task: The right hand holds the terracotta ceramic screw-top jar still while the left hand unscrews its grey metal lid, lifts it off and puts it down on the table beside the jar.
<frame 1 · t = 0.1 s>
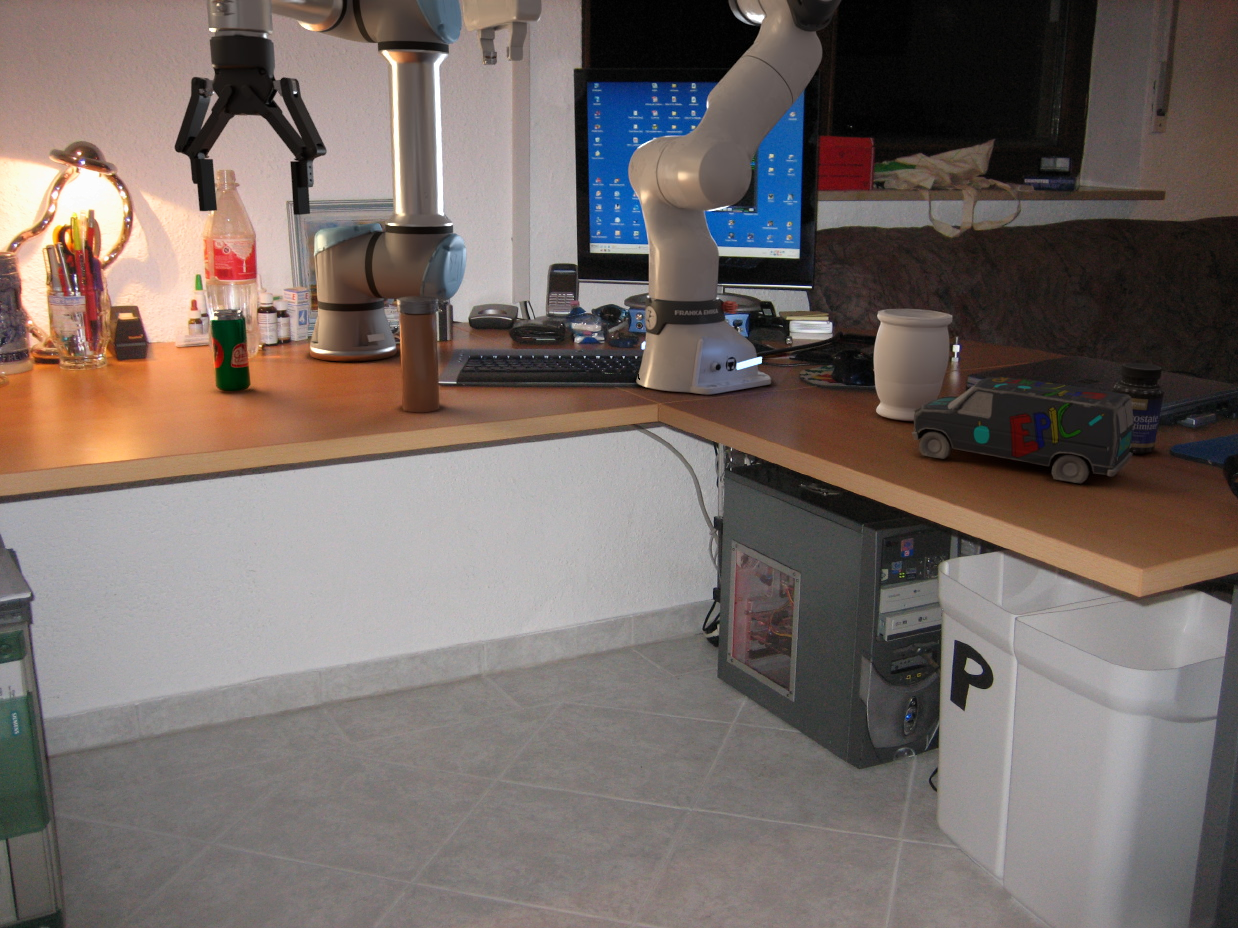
left hand: (254, 213, 138), 28 cm above the table, tool pointing down, fingers open, 13 cm apart
right hand: (501, 63, 148), 48 cm above the table, tool pointing down, fingers open, 8 cm apart
lid: (417, 301, 151), point 16 cm above the table, screwed on, not yet turned
pill bottle: (1128, 449, 141), on the table
jar: (904, 416, 156), on the table
soda can: (233, 390, 165), on the table
screw-top jar: (421, 408, 156), on the table
toy van: (1016, 463, 134), on the table
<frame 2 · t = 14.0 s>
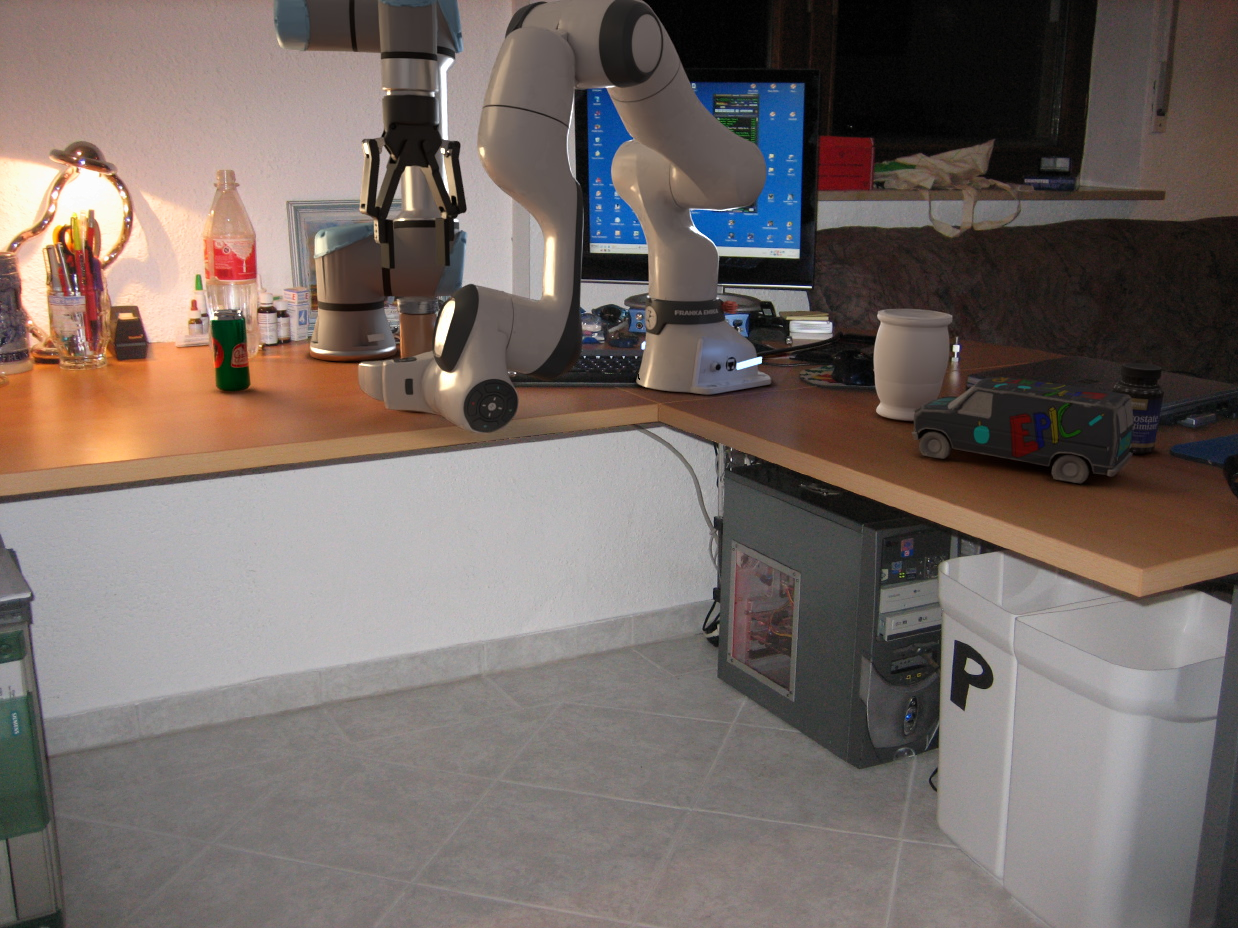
left hand: (416, 266, 150), 20 cm above the table, tool pointing down, fingers open, 8 cm apart
right hand: (417, 363, 155), 7 cm above the table, tool horizontal, fingers closed on screw-top jar, 5 cm apart
screw-top jar: (421, 408, 156), on the table, touching right hand
everything else where it was.
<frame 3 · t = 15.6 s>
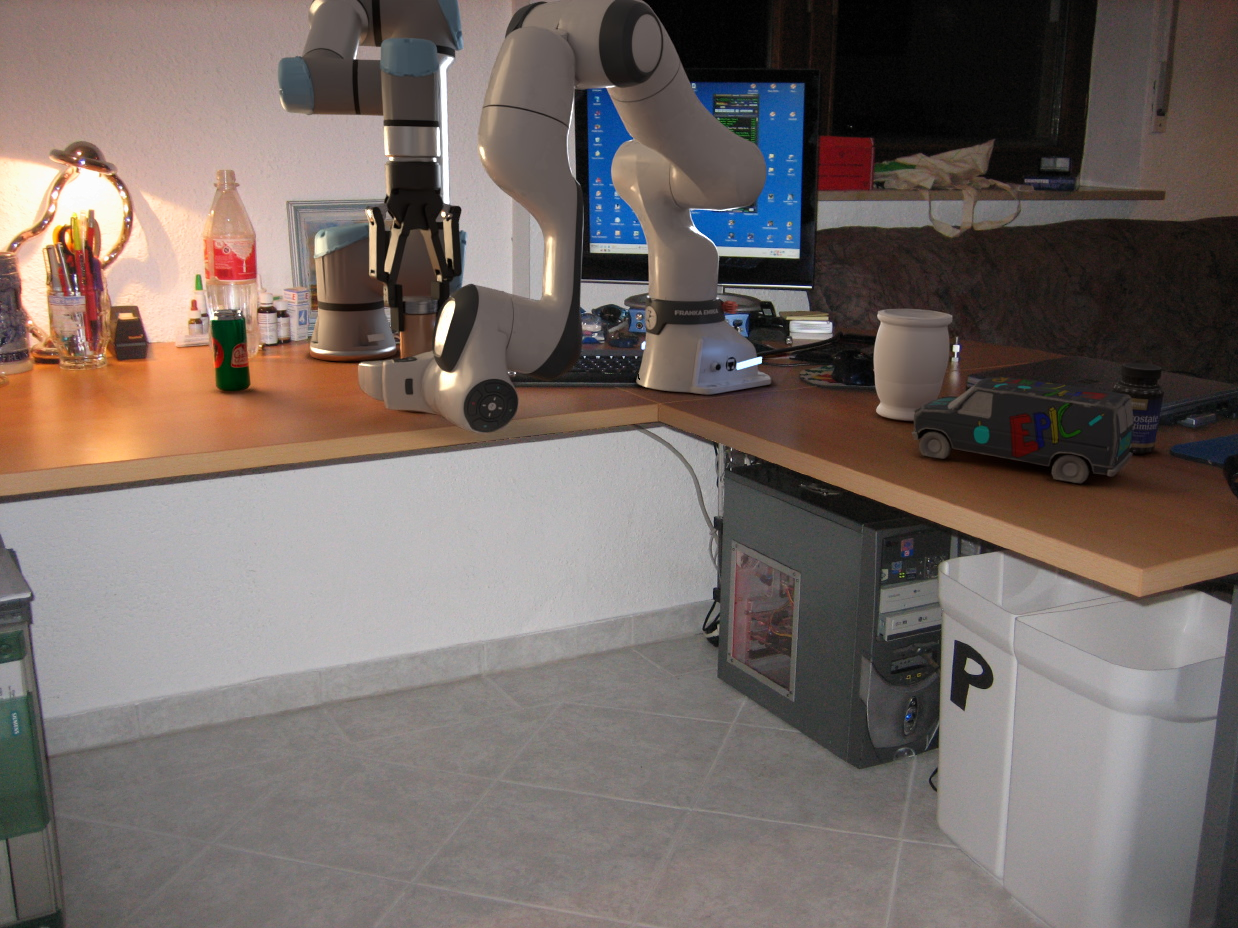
left hand: (418, 328, 152), 12 cm above the table, tool pointing down, fingers closed on lid, 6 cm apart
right hand: (417, 363, 155), 7 cm above the table, tool horizontal, fingers closed on screw-top jar, 5 cm apart
lid: (417, 301, 151), point 16 cm above the table, screwed on, not yet turned, touching left hand
screw-top jar: (421, 408, 156), on the table, touching right hand
everything else where it was.
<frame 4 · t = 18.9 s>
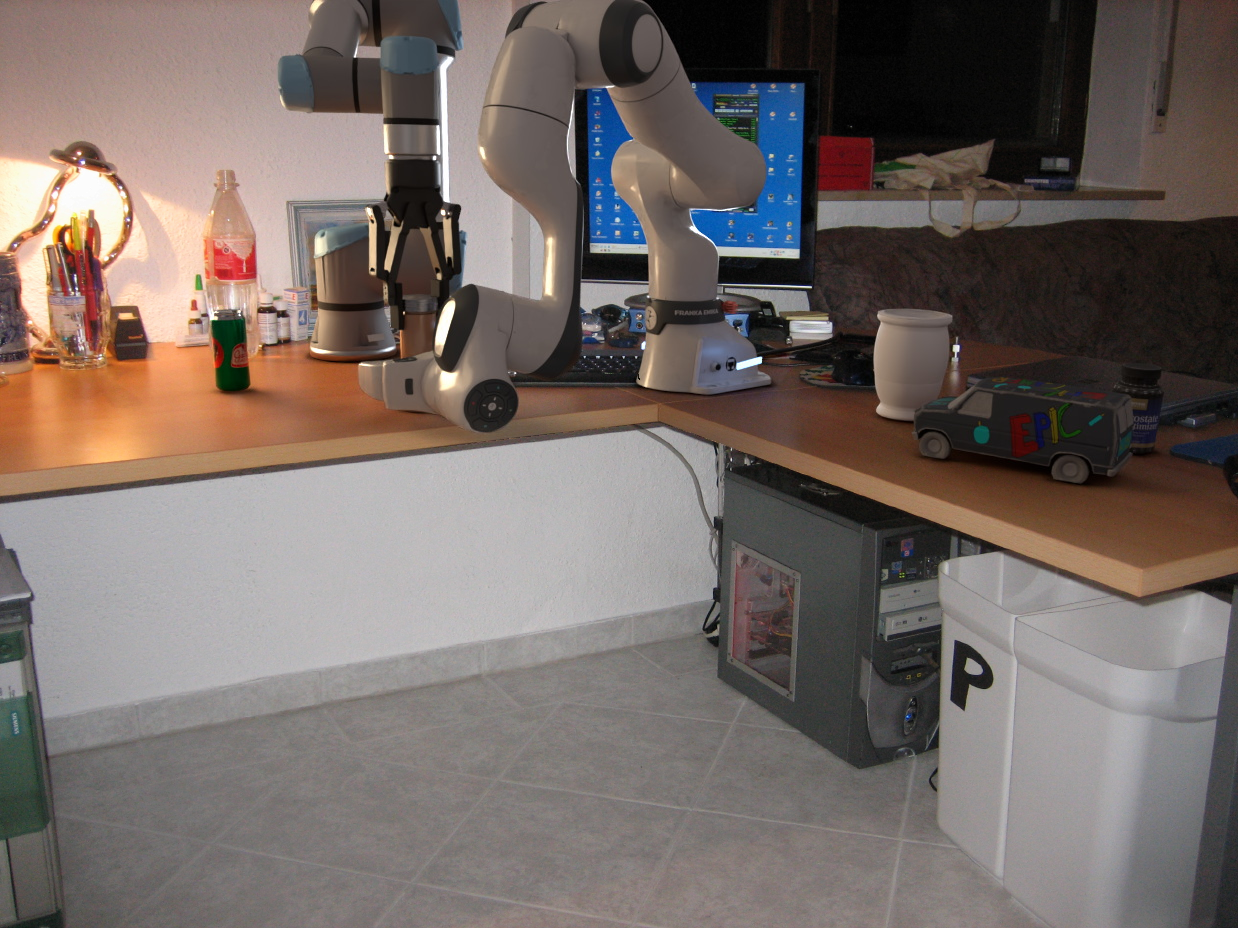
left hand: (418, 326, 152), 12 cm above the table, tool pointing down, fingers closed on lid, 6 cm apart
right hand: (417, 363, 155), 7 cm above the table, tool horizontal, fingers closed on screw-top jar, 5 cm apart
lid: (417, 299, 151), point 16 cm above the table, turned 87° so far, risen 0.3 cm, still on its thread, touching left hand
screw-top jar: (421, 408, 156), on the table, touching right hand
everything else where it was.
when the left hand's fingers open (0 cm above the table, at t = 25.8 s): lid drops 3 cm, point 1 cm above the table.
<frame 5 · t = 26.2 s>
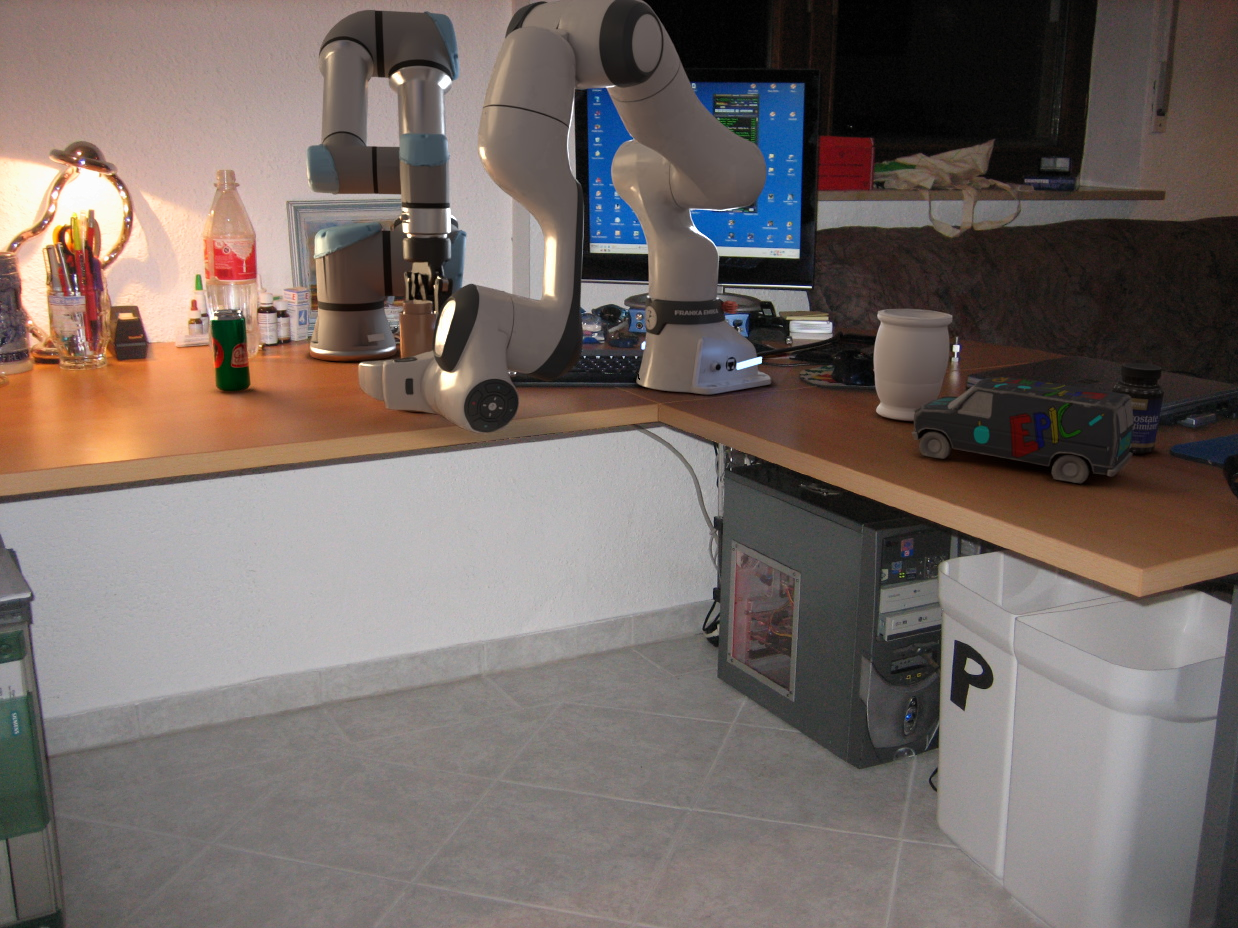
left hand: (430, 379, 174), 0 cm above the table, tool pointing down, fingers open, 6 cm apart
right hand: (417, 363, 155), 7 cm above the table, tool horizontal, fingers closed on screw-top jar, 5 cm apart
lid: (430, 372, 174), point 1 cm above the table, off its thread
screw-top jar: (421, 408, 156), on the table, touching right hand
everything else where it was.
when the right hand's fingers open (7 cm above the table, at t = 27.0 s): screw-top jar stays where it is, on the table.
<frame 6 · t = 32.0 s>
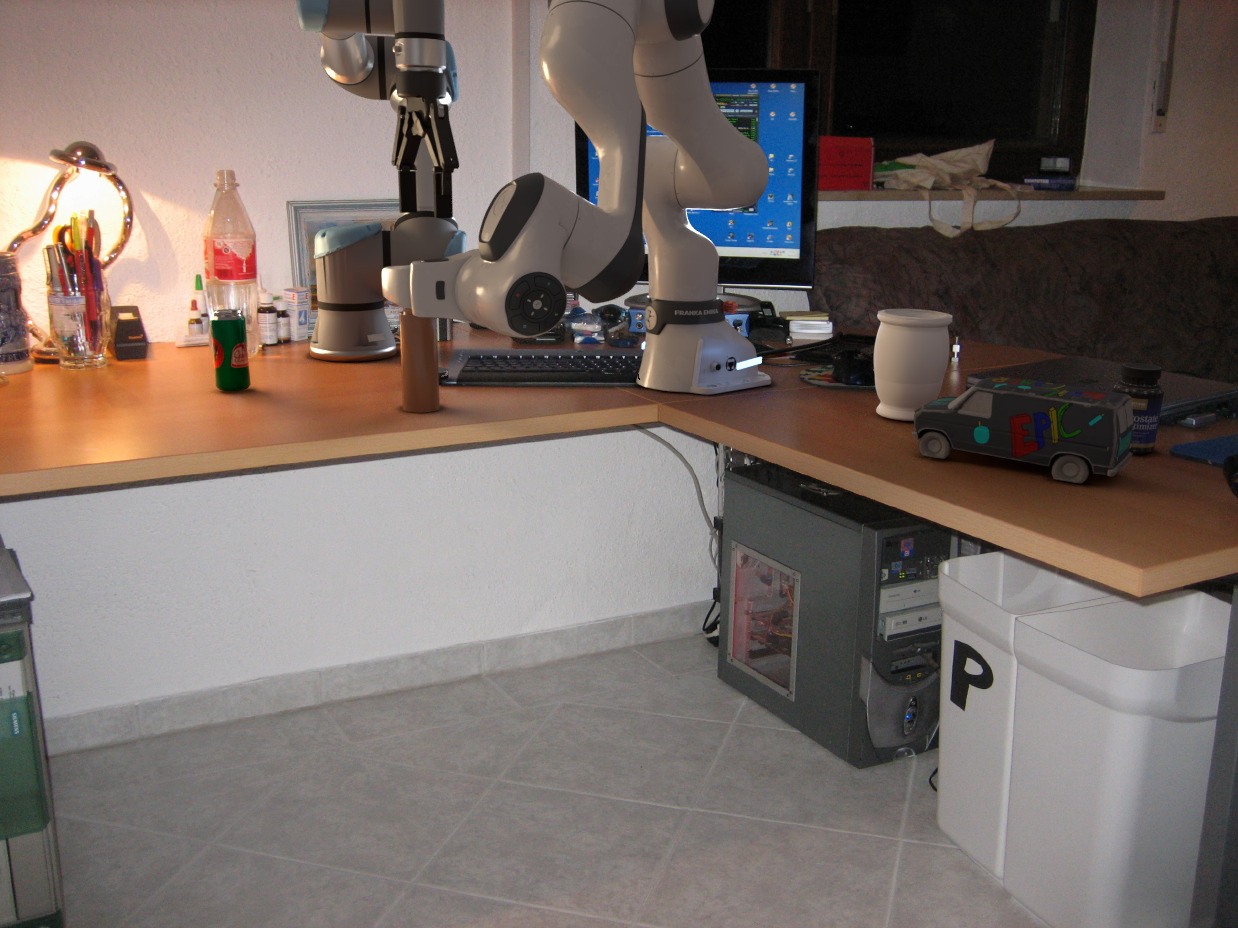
left hand: (425, 215, 167), 26 cm above the table, tool pointing down, fingers open, 13 cm apart
right hand: (446, 275, 139), 21 cm above the table, tool horizontal, fingers open, 8 cm apart
screw-top jar: (421, 408, 156), on the table
everything else where it was.
at the end: lid came off its thread; lid point 1.4 cm above the table; the left hand is holding nothing; the right hand is holding nothing; screw-top jar tilted 0°; screw-top jar moved 0.1 cm from its start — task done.
